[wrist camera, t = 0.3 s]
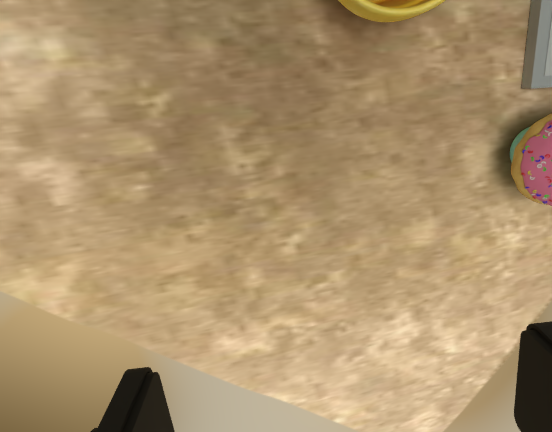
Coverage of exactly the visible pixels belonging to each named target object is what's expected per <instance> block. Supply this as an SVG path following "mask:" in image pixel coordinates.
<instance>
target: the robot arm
mask: <svg viewBox="0 0 552 432" xmlns="http://www.w3.org/2000/svg"><path fill="white" fill-rule="evenodd" d="M514 417H515V421H516V423H517V426H518V427H519V429H520V431H521V432H552V322H544V323H534V324H529V325H528V326H527V329H526V331H522V333H521V338H520V349H519V361H518V372H517V384H516V395H515V406H514ZM91 432H174V428H173V424H172V420H171V417H170V413H169V409H168V406H167V402H166V398H165V395H164V391H163V387H162V383H161V380H160V376H159V374H158V373H157V372H154V373H153V372H152V370H151V368H149V367H145V368H137V369H128V370H127V371H125V373H124V375H123V377H122V379H121V381H120V383H119V385H118V388H117V389H116V391H115V394H114V396H113V398H112V400H111V402H110V404H109V406H108V408H107V410H106V412H105V414H104V416H103V418H102V420H101V422H100V424H99V426H98V428H94V429H93V430H92V431H91Z"/></svg>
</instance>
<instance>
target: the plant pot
mask: <svg viewBox="0 0 552 432" xmlns="http://www.w3.org/2000/svg"><path fill="white" fill-rule="evenodd" d="M338 1H339V2H340V3H341V4H342V5H343V6H344V7H346V8H347V9H348V10H350V11H351V12H352V13H354V14H356V15H358V16H360V17H362V18H365V19H368V20H372V21H377V22H396V21H401V20H405V19H409V18H412V17H415V16H418V15H420V14H422V13H425V12H427V11H429V10H431V9H433V8H435V7H436V6H438V5H440V4H441V3H443V2H444V1H445V0H338Z"/></svg>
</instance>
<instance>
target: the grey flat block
mask: <svg viewBox="0 0 552 432" xmlns="http://www.w3.org/2000/svg"><path fill="white" fill-rule="evenodd" d="M546 87H552V0H531V6H530V15H529V24H528V32H527V41H526V50H525V59H524V68H523V76H522V85H521V88H527V89H533V88H546Z"/></svg>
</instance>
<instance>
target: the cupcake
mask: <svg viewBox="0 0 552 432" xmlns="http://www.w3.org/2000/svg"><path fill="white" fill-rule="evenodd" d="M510 160H511V163H512V165H511V175H512V177H513V179H514V181H515V184H516V186H517V188H518V190H519V191H520V192H521V193H522V194H523V195H524V196H525V197H527V198H528V199H530V200H532V201H535V202H537V203H541V204H546V205H551V206H552V113H551V114H549V115H548V116H546V117H544V118H542V119H540V120H538V121H537V122H535V123H534V124H533V125H532V126H530V127H528V128H526V129H524V130H523V131H521V132H520V133H519V134H518V135H517V136H516V138H515V139H514V141H513V143H512V145H511V148H510Z"/></svg>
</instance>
